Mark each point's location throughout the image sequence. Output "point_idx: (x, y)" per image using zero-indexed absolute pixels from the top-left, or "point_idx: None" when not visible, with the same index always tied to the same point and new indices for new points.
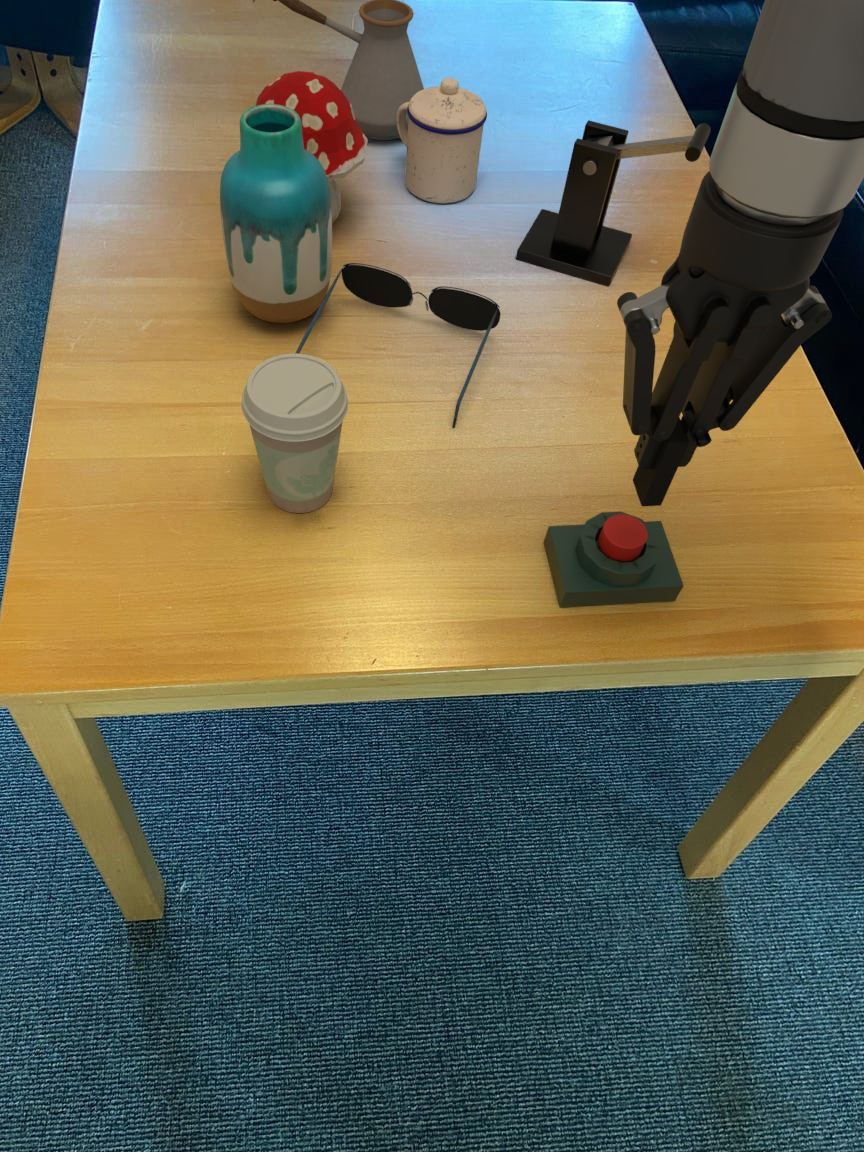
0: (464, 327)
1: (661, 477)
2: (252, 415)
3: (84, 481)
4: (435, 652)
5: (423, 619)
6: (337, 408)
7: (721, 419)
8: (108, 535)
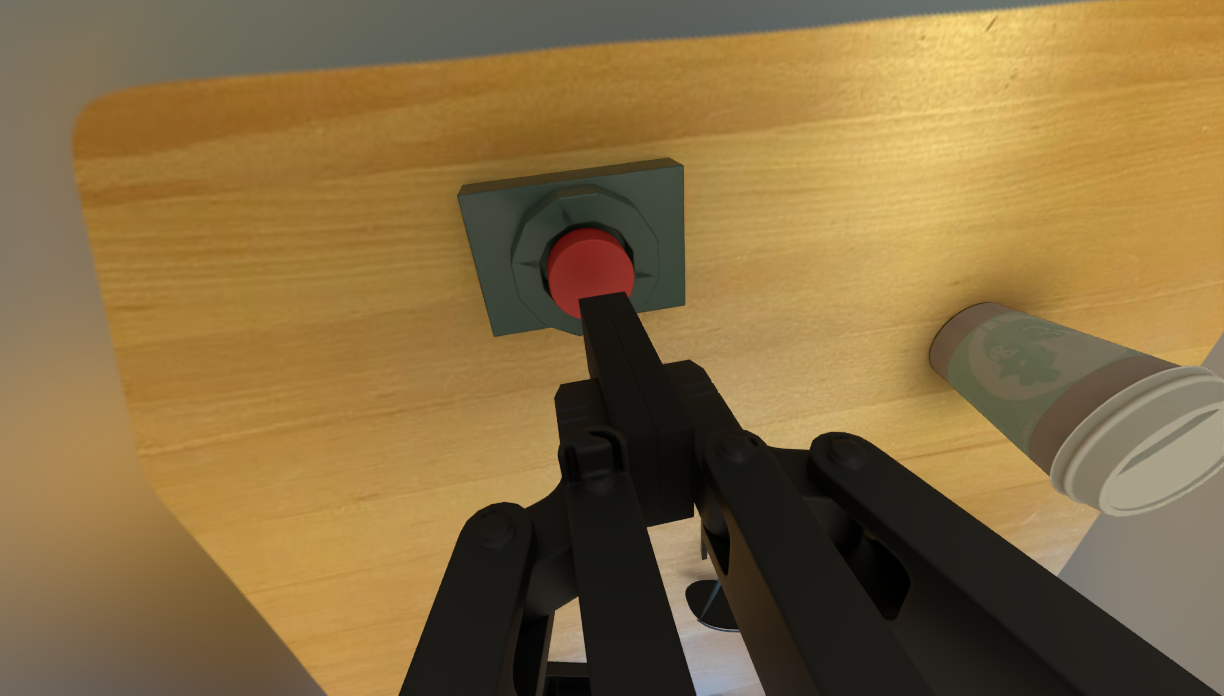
0: (712, 581)
1: (629, 343)
2: None
3: (1187, 320)
4: (892, 47)
5: (889, 121)
6: (1122, 433)
7: (532, 547)
8: (1207, 244)
